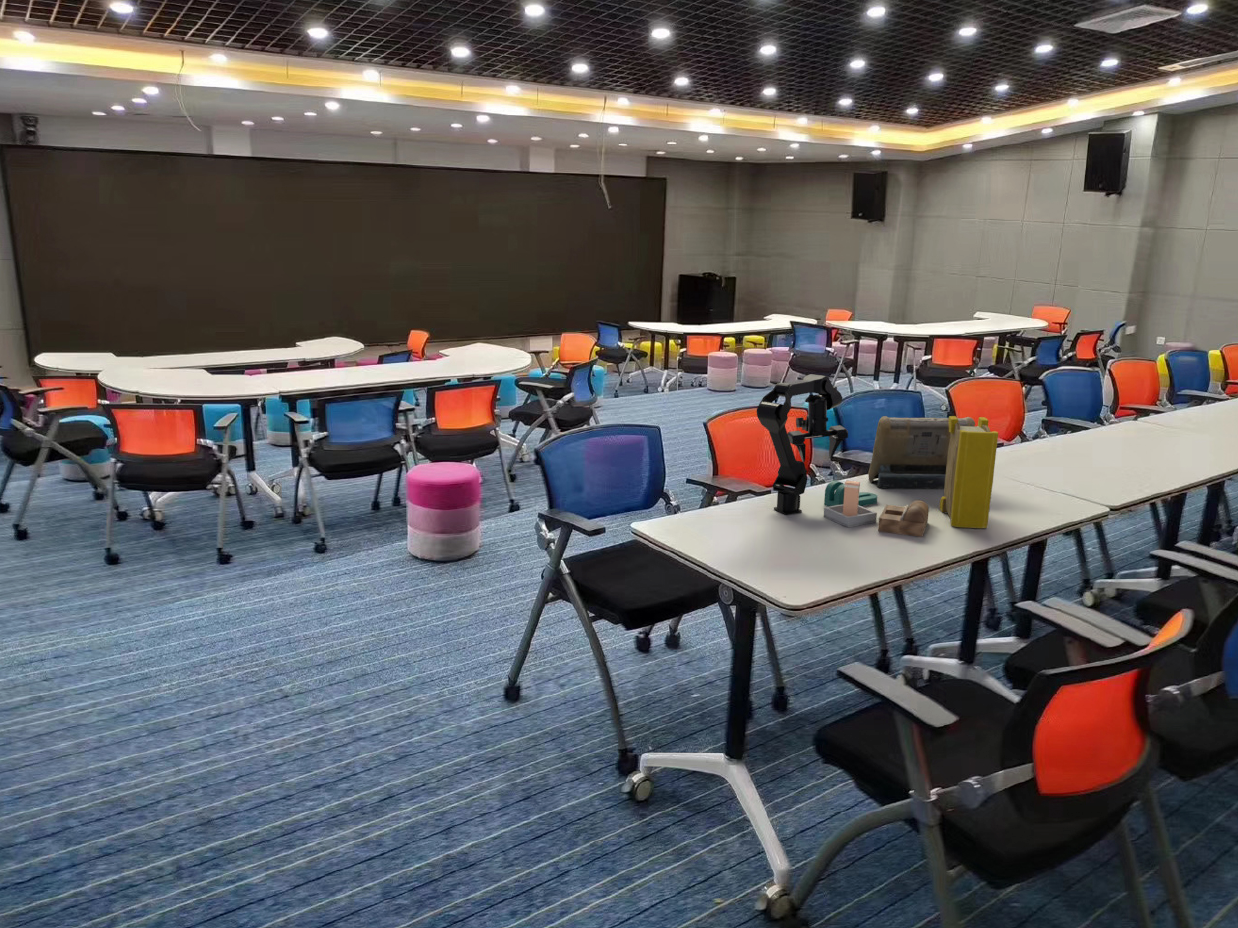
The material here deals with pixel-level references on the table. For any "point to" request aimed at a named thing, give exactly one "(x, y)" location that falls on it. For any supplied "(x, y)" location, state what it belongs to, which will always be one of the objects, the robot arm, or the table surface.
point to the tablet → (912, 452)
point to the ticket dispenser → (905, 519)
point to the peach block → (851, 498)
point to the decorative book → (969, 473)
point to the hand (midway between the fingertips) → (817, 460)
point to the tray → (862, 518)
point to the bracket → (838, 496)
